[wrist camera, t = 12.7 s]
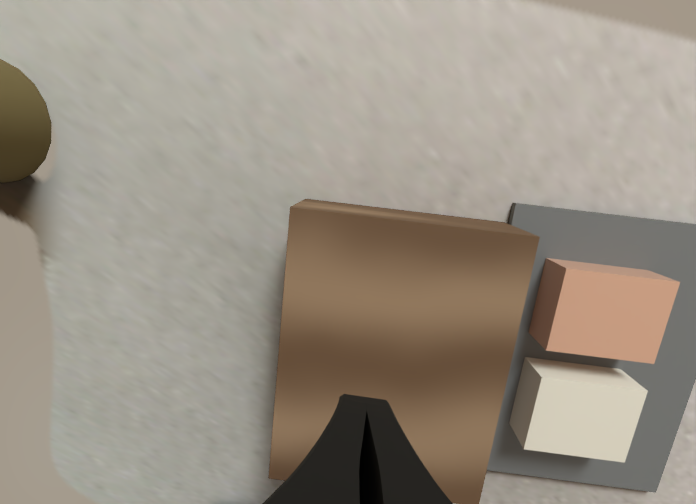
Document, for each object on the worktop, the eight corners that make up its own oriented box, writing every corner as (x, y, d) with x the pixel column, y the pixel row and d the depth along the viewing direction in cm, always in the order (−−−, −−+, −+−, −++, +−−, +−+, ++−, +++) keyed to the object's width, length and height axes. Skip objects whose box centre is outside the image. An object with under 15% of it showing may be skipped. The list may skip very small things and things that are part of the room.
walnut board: (458, 446, 22) (478, 506, 18) (285, 423, 22) (268, 478, 18) (504, 222, 19) (539, 236, 15) (305, 198, 19) (290, 207, 15)
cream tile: (523, 449, 19) (509, 423, 21) (624, 462, 19) (600, 435, 21) (541, 377, 18) (524, 356, 20) (647, 391, 18) (620, 369, 20)
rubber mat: (650, 486, 22) (656, 492, 22) (458, 461, 22) (460, 466, 22) (739, 229, 19) (747, 230, 18) (512, 202, 19) (515, 203, 19)
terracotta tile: (546, 350, 18) (528, 332, 20) (653, 363, 18) (625, 344, 20) (566, 268, 17) (546, 257, 19) (680, 282, 17) (647, 270, 19)
